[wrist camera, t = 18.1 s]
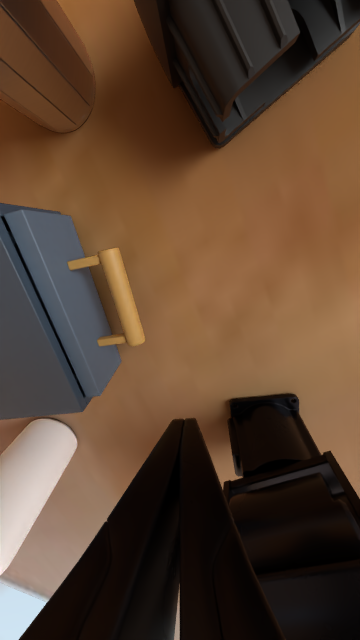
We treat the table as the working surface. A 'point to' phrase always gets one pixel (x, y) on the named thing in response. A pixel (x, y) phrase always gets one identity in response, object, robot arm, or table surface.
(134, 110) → the table surface
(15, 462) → the can
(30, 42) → the measuring cup
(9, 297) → the cabinet
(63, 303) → the drawer
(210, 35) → the end cap
